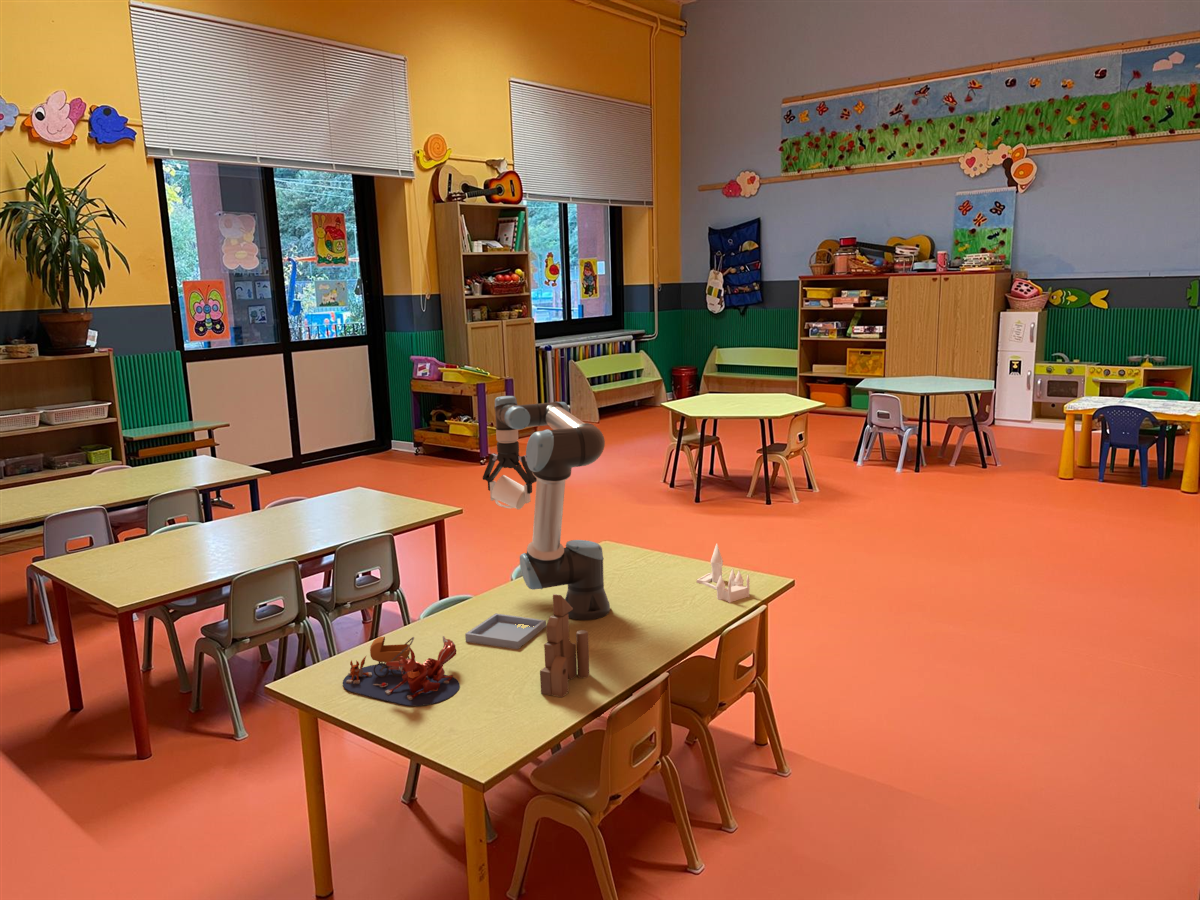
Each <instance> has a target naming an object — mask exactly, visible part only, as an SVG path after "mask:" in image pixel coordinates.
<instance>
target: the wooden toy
mask: <svg viewBox="0 0 1200 900" xmlns="http://www.w3.org/2000/svg"><path fill="white" fill-rule="evenodd" d="M552 605H553V608H552V609H553V610H552V611H553V612H552V613H553V614H552V615H550V616H549V618H548V621H547V622H546V641H547V642H545V643H544V645H543V647H544V651H543V652H544V667H543V668H541V670H540V671H539V675H540V676H539V678H540V679H539V680H540V693H541V694H543V695H546V696H547V695H548V696H554V697H558V698H563V697H565V696H566V695H567V694H568V693H569V681H570V680H572V679H574V678H575V677H576V676H577V677H578V678H579V679H585V678H588V677H589V676H590V655H589V654H590V653H589V652H590V650H589V632H588V631H587V630H586V629H585V630H584V629H581V630H580V629H579V630H577V631H576V632H575V634H576V635H575V636H576V637H575V638H576V639H575V640H576V643H575V642H572V641H571V640H570V626H569V625H570V623H569V622H570V621H569V620H570V619H569V617H568V612H570V611H571V610H573V608H572V607H571V606H570V605H569V604H568V602H567V601H566V600H565V597H563V596H562V595H561V594H555V593H554V594H552Z"/></svg>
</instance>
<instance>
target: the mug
mask: <svg viewBox="0 0 1200 900" xmlns="http://www.w3.org/2000/svg"><path fill="white" fill-rule="evenodd" d="M492 498H494V499H495V500H494V502H495V504H496V505H497V506H498V507H501V508H505V509H516V510H521V509H522V508H523V507H524V506H525V505H526V503H525V491H524V485H523V484H521V483H519V482H517V481H516V480H514V479H512V478H510V477H508V476H507V475H505V474H503V475H500V477H498V479H497V480H496V484H495V485H494V488H493V490H492Z"/></svg>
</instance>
